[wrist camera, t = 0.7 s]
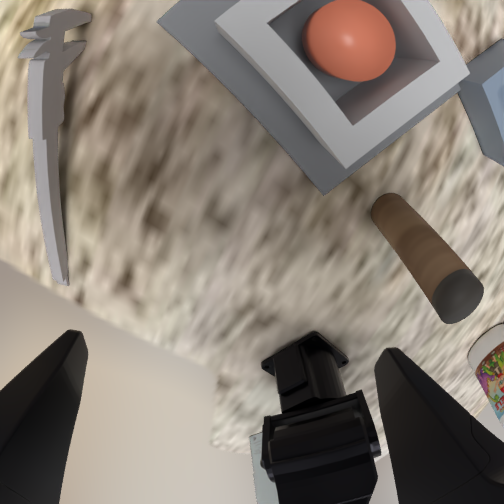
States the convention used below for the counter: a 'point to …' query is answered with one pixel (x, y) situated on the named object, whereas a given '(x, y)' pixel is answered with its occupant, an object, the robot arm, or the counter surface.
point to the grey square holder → (320, 77)
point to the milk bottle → (490, 367)
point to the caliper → (50, 119)
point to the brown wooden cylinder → (428, 259)
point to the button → (349, 40)
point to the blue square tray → (486, 100)
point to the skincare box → (261, 474)
